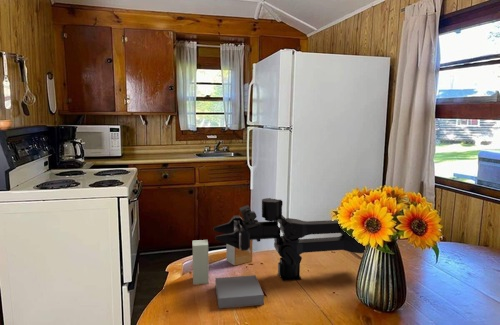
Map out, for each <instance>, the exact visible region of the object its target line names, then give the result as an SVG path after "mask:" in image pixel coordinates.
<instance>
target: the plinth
mask: <svg viewBox="0 0 500 325" xmlns="http://www.w3.org/2000/svg"><path fill="white" fill-rule="evenodd" d="M214 281H215V285H214V286H215V291H216V292H215V293H216V299H217V304H218V305H217V306H218V309H228V308H229V309H230V308H238V307H239V308H240V307H242V308H243V307H249V306H250V307H252V306H262V305H264V303H265V302H264V301H265V298H264V297H265V296H264V295H265V294H264V292H263V290H262V288H261V284H260V283H259V281H258V279H257V276H256V274H254V275H240V276H239V275H238V276H226V277H225V276H224V277H216V278H215V280H214Z"/></svg>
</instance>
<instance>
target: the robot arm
mask: <svg viewBox="0 0 500 325" xmlns="http://www.w3.org/2000/svg"><path fill="white" fill-rule="evenodd" d="M239 212H240V214H241V216H242V217H241V216H240V215H233V216H232V217H231V218H230V220H229V221H228V222H226V223H222V224H219V225H217V226H214V227H213V231H214V232H218V233H220V234H219V235H215V241H218V242H220V243H223V244H228V245H231V246H233V247H236V248H238V249H239V247H240V249H241V251H246V250H248V249H249V248H250V240H253V241H254V240H255V241H257V242H259V243H260V242H261V240H270V239H271V240H273V239H274V240H273V241H274V244H273V245H274V246H273V247H274V249H275V251H276V252H277V254H278V255H279V262H278V263H277V274H278V276H279V277H280V279H281V280H282V281H283V282H285V281H286V282H287V281H289V282H290V281H299V280H302V277H301V273H300V272H301V271H300V270H301V269H300V268H301V262H302V259H303V257H302V254H306V253H320V252H333V251H334V252H335V251H346V252H349V253H352V254H365V253H364V250H365V246H363V245H362V244H360V243H358V242H357V241H356V240H355V239H354V238H352V237H351V236H349V235H348V234H347V233H346V232H344V231H343V230H342V229H341V228H340V226H339V224H338V221H337V220H338V219H333V220H334V221H332V219H331V220H308V221H307V220H300V219H296V218H290V217H284V215H283V200H282V199H277V198H271V197H267V198H263V199H261V218H264V220H265V221H259V220H258V219H257V213H256V212H255V211H253V210H251V208H250V206H249V204H247V205H244V206H241V207H239ZM221 233H222V234H221ZM281 233H282V235H281ZM326 234H329V235H330V234H340V236H333V237H331V236H329V237H316V238H315V237H314V238H304V237H306V236H310V235H326Z"/></svg>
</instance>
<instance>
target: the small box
mask: <svg viewBox="0 0 500 325" xmlns="http://www.w3.org/2000/svg"><path fill="white" fill-rule="evenodd" d="M253 241H254V240H250V248H249V249H248V250H246V251H241V249H240V247H239V249H238V248H236V247H233V246H231V245H228V244H226V243H225V244H226V248H225V249H226V252H225V253H226V257H225V258H226V261H227V262H228V263H229V264H231V265H233V266H238V265H243V264H246V263H251V262H253V249H254V248H253V243H254V242H253Z"/></svg>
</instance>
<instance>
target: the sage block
mask: <svg viewBox="0 0 500 325" xmlns="http://www.w3.org/2000/svg"><path fill="white" fill-rule="evenodd" d="M191 241H192V285H203V284H209V283H210V282H209V280H210V279H209V276H210V275H209V273H210V272H209V241H208V239H203V240H202V239H199V240H197V239H196V240H191Z"/></svg>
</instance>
